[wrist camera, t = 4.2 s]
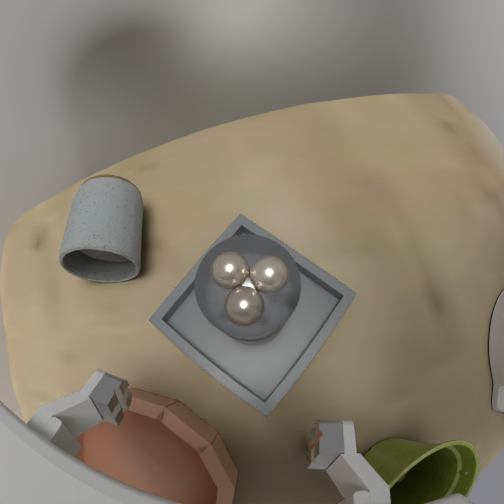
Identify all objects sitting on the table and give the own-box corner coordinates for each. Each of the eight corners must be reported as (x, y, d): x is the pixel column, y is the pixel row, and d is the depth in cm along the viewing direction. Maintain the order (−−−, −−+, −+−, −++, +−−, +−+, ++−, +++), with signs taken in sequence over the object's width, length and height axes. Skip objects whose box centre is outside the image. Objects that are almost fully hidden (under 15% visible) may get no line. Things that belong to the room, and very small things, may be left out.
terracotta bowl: (274, 468, 17) (276, 485, 14) (173, 547, 13) (164, 563, 9) (131, 355, 21) (112, 353, 18) (59, 448, 17) (40, 454, 14)
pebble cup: (299, 306, 22) (325, 266, 13) (259, 358, 20) (256, 359, 11) (247, 268, 23) (237, 207, 14) (207, 317, 22) (167, 286, 13)
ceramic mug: (154, 203, 27) (124, 157, 20) (154, 278, 24) (113, 245, 17) (76, 222, 27) (38, 188, 20) (69, 289, 24) (21, 265, 17)
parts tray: (349, 298, 23) (356, 293, 21) (266, 411, 19) (266, 416, 17) (241, 224, 26) (240, 213, 24) (157, 323, 22) (148, 319, 21)
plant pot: (419, 487, 14) (465, 515, 6) (333, 513, 15) (358, 561, 7) (428, 410, 18) (487, 421, 10) (337, 434, 18) (375, 468, 10)
